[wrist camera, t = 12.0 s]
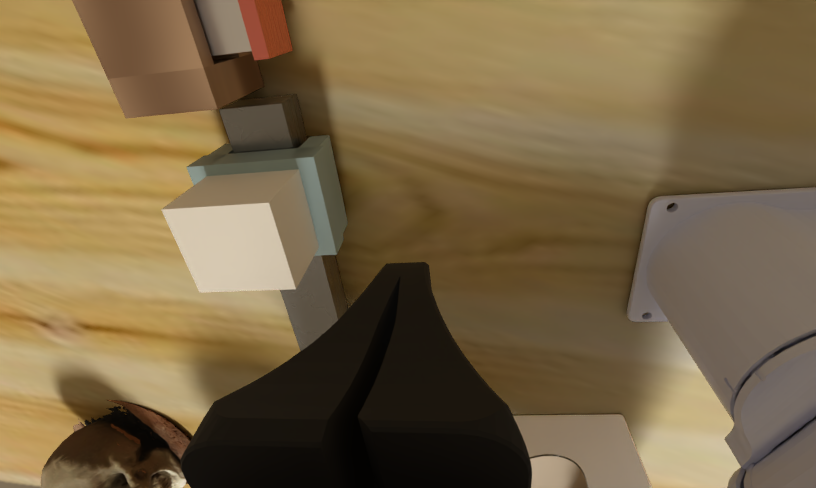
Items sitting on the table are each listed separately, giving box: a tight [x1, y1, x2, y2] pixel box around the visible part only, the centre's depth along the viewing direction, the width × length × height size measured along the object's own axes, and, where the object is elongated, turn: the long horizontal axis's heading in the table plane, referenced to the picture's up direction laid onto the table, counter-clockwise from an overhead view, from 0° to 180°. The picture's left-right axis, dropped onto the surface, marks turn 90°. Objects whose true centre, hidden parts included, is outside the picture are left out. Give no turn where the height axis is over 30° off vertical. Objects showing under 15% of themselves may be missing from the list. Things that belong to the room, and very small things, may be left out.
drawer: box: [193, 0, 293, 60], centre depth 16 cm, size 6×3×3 cm, turn 97°
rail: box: [219, 94, 348, 351], centre depth 24 cm, size 3×17×2 cm, turn 7°
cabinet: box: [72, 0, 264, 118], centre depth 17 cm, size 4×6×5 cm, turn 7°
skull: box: [41, 400, 191, 488], centre depth 37 cm, size 12×10×10 cm
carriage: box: [161, 135, 348, 292], centre depth 19 cm, size 6×5×7 cm
